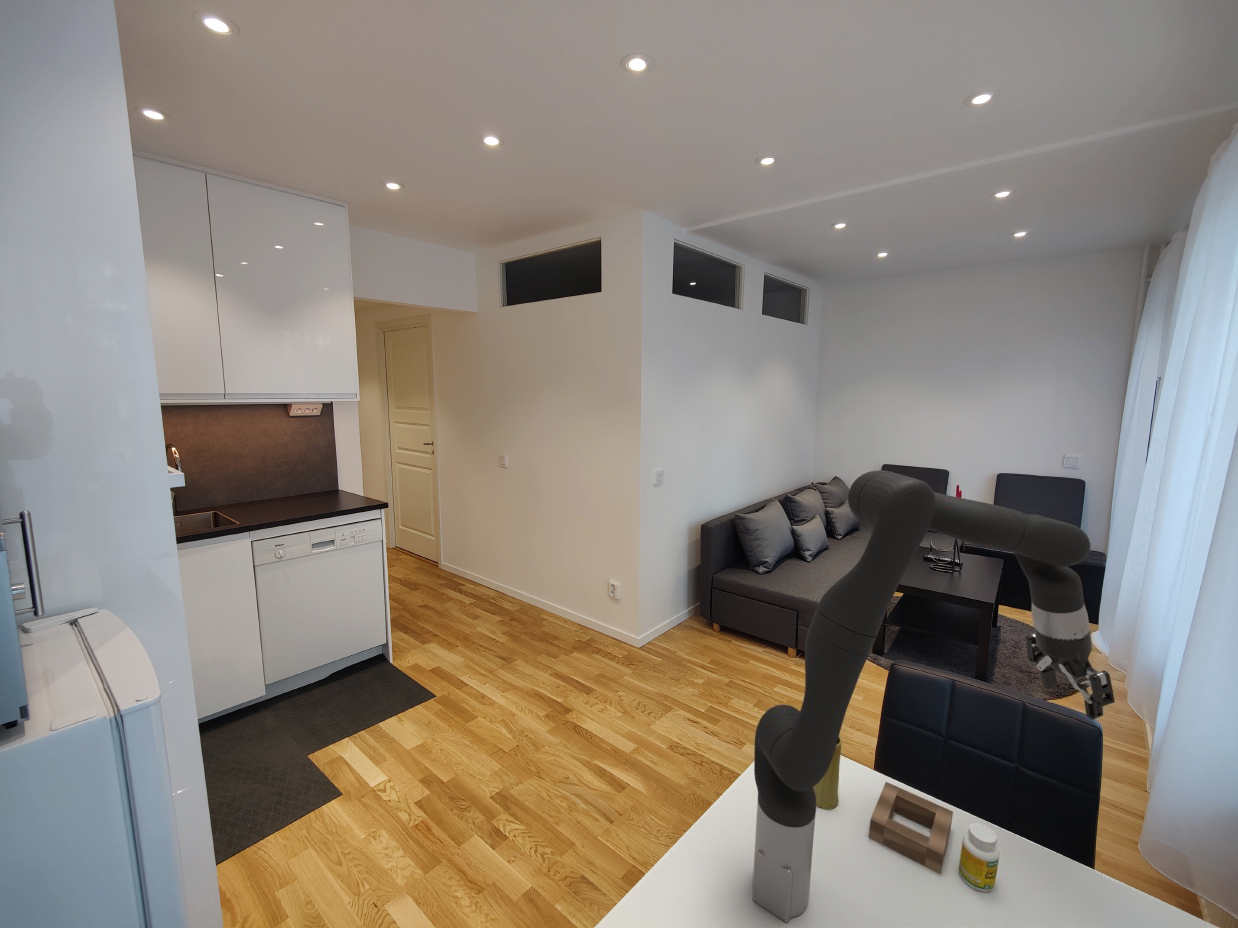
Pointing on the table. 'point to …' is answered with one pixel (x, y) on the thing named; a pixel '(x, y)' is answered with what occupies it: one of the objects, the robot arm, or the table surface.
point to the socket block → (906, 838)
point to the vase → (829, 782)
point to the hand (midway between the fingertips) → (1071, 701)
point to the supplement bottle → (979, 858)
